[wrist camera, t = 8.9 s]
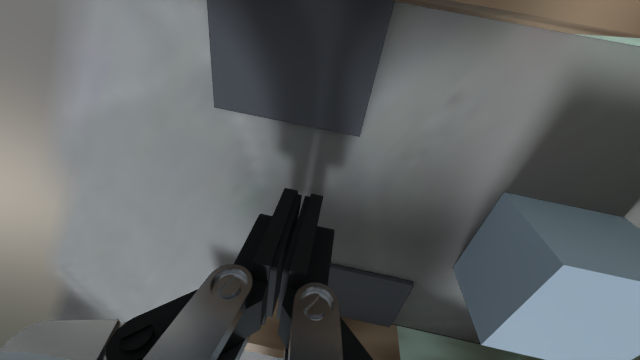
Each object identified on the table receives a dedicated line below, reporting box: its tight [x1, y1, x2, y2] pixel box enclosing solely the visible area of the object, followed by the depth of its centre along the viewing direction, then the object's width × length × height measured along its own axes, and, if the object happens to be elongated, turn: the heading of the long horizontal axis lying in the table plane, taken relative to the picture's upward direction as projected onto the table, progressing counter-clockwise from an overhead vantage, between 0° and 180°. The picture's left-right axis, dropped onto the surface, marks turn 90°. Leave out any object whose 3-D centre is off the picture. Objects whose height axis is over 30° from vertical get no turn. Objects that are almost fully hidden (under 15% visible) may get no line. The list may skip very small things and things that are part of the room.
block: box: [453, 192, 640, 360], centre depth 11 cm, size 5×5×4 cm
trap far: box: [328, 264, 414, 328], centre depth 16 cm, size 6×4×1 cm
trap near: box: [207, 0, 395, 137], centre depth 9 cm, size 6×4×1 cm
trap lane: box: [244, 0, 640, 360], centre depth 11 cm, size 21×19×4 cm
